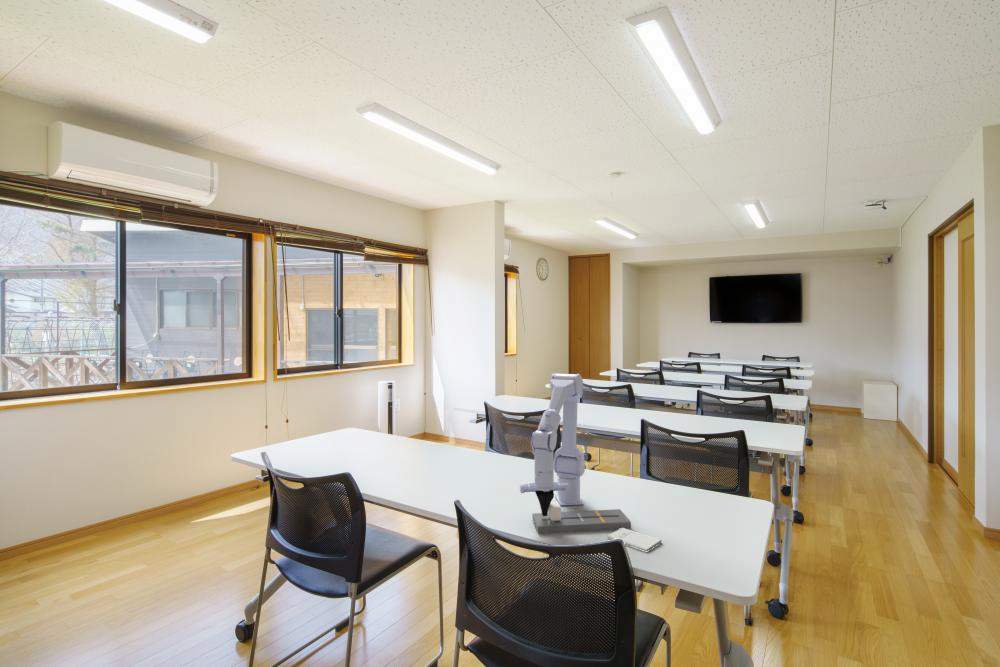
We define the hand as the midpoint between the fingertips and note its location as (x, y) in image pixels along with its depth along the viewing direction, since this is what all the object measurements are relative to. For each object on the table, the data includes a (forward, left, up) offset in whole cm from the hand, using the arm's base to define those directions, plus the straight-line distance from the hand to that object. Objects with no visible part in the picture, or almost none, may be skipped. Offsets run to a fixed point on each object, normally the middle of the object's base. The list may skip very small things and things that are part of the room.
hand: (544, 514), depth 155 cm
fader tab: (0, +3, -1) cm, 3 cm away
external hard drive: (+13, +23, -4) cm, 27 cm away
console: (0, +11, -3) cm, 12 cm away
